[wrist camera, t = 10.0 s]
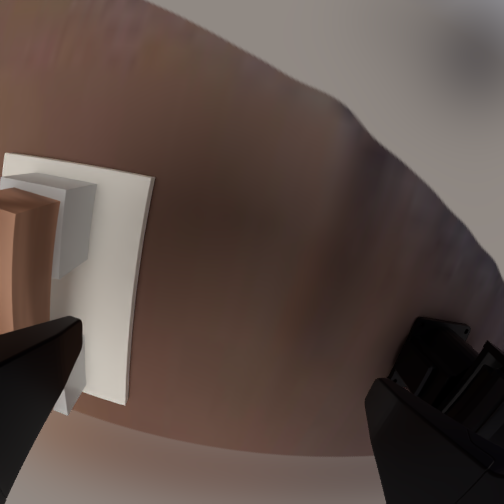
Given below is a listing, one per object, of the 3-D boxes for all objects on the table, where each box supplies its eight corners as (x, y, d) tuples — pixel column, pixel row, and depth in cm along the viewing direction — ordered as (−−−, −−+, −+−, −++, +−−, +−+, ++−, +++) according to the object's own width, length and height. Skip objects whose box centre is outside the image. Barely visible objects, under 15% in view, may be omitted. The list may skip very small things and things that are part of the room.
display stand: (155, 177, 19) (129, 182, 14) (128, 398, 24) (111, 439, 19) (12, 152, 18) (-31, 154, 13) (13, 355, 22) (-14, 384, 18)
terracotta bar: (60, 201, 14) (15, 214, 11) (54, 406, 18) (32, 442, 14) (14, 187, 14) (-33, 196, 10) (16, 388, 18) (-8, 419, 14)
